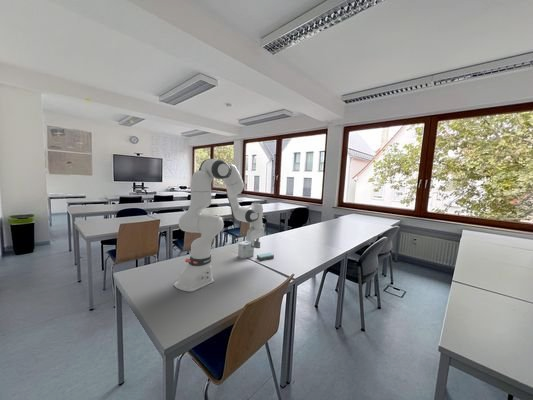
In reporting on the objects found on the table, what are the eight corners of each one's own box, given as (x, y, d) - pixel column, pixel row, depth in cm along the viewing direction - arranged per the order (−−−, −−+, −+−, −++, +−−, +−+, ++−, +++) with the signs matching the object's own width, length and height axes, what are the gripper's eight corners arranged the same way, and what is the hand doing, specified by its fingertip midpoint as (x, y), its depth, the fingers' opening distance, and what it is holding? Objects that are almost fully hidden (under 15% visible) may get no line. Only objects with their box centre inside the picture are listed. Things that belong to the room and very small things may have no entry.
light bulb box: (248, 253, 178) (249, 240, 177) (253, 256, 173) (254, 242, 172) (237, 256, 171) (238, 242, 170) (242, 258, 166) (242, 245, 165)
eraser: (260, 261, 164) (260, 257, 164) (256, 258, 169) (257, 254, 168) (273, 258, 171) (273, 254, 170) (270, 256, 175) (270, 252, 174)
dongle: (260, 247, 158) (261, 242, 157) (258, 248, 155) (258, 243, 154) (250, 245, 161) (250, 240, 161) (248, 246, 158) (248, 241, 158)
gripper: (252, 228, 146) (251, 249, 147) (266, 224, 164) (265, 242, 165) (244, 227, 149) (243, 247, 150) (258, 223, 167) (257, 241, 168)
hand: (254, 244), depth 158 cm, fingers closed on dongle, 3 cm apart
